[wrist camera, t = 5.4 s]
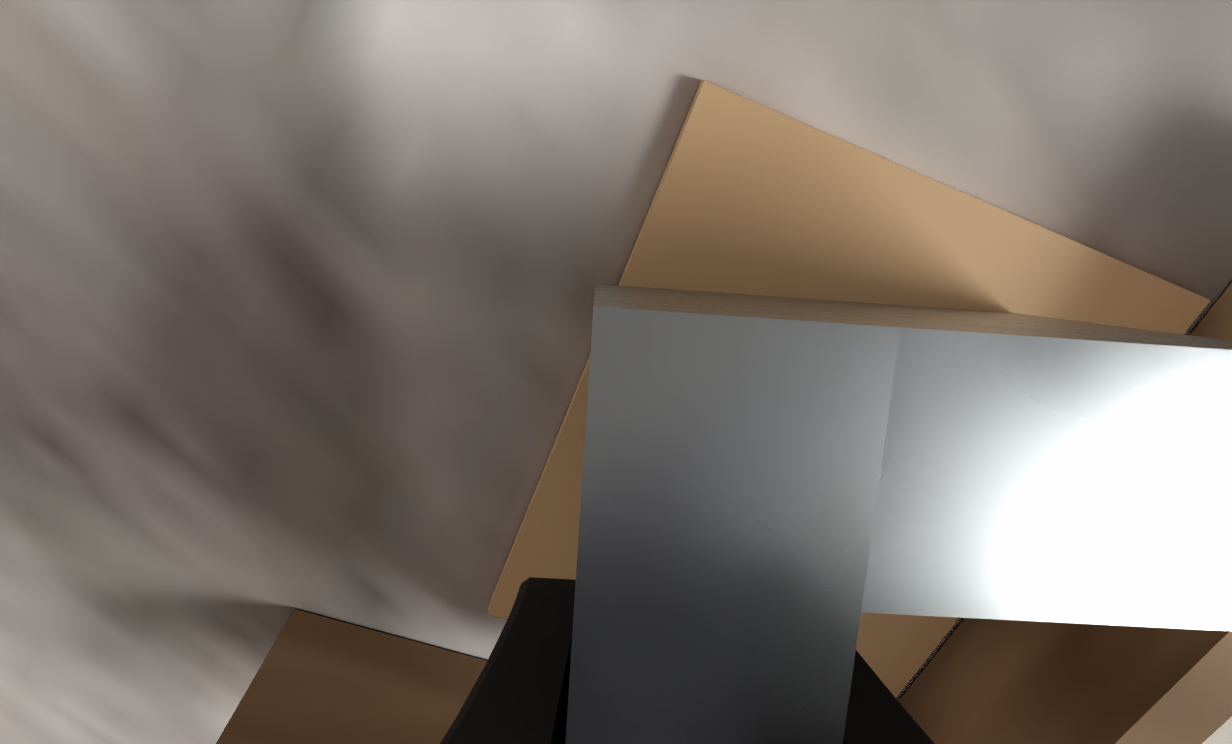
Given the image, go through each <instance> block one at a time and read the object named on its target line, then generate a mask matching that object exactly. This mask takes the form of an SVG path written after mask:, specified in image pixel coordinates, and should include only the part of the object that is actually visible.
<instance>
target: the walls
mask: <svg viewBox="0 0 1232 744" xmlns="http://www.w3.org/2000/svg"><path fill="white" fill-rule="evenodd" d="M1190 335H1192V336H1200V337H1208V338H1216V339H1223V340H1231V341H1232V283H1231V284H1230V285H1229V287H1228V288H1227V289H1226V290H1225V292H1224V293H1223V294H1222V295H1221V297H1220V298H1219V299H1218V300H1217V302H1216V303H1215V304H1214V305H1213V307H1212V308H1211V309H1210V311H1209V312H1208V313H1207V314H1206V316H1205V317H1204V318H1203V319H1202V321H1201V322H1200V323H1199V324H1198V326H1197V327H1196V328H1195V329H1194V331H1193V332H1192V333H1191V334H1190ZM486 663H487V661H485V660H482V659H478V658H474V657H471V656H467V655H463V654H459V653H456V652H452V651H448V650H444V649H441V648H437V647H433V646H430V645H426V644H422V643H418V642H415V641H411V640H407V639H404V638H400V637H396V636H392V635H389V634H385V633H381V632H378V631H374V630H370V629H366V628H363V627H359V626H355V625H352V624H348V623H344V622H340V621H337V620H333V619H329V618H326V617H322V616H318V615H314V614H311V613H307V612H303V611H300V610H296V609H294V610H293V612H292V614H291V615H290V617H289V619H288V620H287V622H286V624H285V626H284V627H283V629H282V631H281V632H280V634H279V636H278V638H277V639H276V641H275V643H274V645H273V646H272V648H271V650H270V651H269V653H268V655H267V657H266V658H265V660H264V662H263V664H262V665H261V667H260V669H259V670H258V672H257V674H256V676H255V677H254V679H253V681H252V682H251V684H250V686H249V688H248V689H247V691H246V693H245V695H244V696H243V698H242V700H241V701H240V703H239V705H238V707H237V708H236V710H235V712H234V713H233V715H232V717H231V719H230V720H229V722H228V724H227V726H226V727H225V729H224V731H223V732H222V734H221V736H220V738H219V739H218V741H217V743H216V744H440V743H441V741H442V740H443V738H444V736H445V735H446V733H447V732H448V730H449V728H450V727H451V725H452V723H453V722H454V720H455V718H456V717H457V715H458V713H459V711H460V710H461V708H462V706H463V704H464V702H465V701H466V699H467V697H468V695H469V693H470V692H471V690H472V688H473V686H474V684H475V683H476V681H477V679H478V677H479V676H480V674H481V672H482V670H483V668H484V667H485V665H486ZM899 702H900V704H901V705H902V706H903V707H904V708H905V709H906V711H907V712H908V713H909V714H910V715H911V716H912V718H913V719H914V720H915V721H916V722H917V723H918V725H919V726H920V727H921V728H922V729H923V730H924V732H925V733H926V734H927V735H928V736H929V737H930V739H931V740H932V741H933V742H934V743H935V744H1202V743H1203V742H1204V741H1205V740H1206V739H1207V738H1208V737H1209V736H1211V735H1212V734H1213V733H1214V732H1215V731H1216V730H1217V729H1218V728H1219V727H1220V726H1222V725H1223V724H1224V723H1225V722H1226V721H1227V720H1228V719H1229V718H1230V717H1231V716H1232V631H1213V630H1194V629H1174V628H1154V627H1135V626H1115V625H1096V624H1076V623H1056V622H1037V621H1017V620H997V619H978V618H964V620H963V621H962V622H961V623H960V625H959V626H958V627H957V628H956V630H955V631H954V632H953V633H952V635H951V636H950V637H949V638H948V640H947V641H946V642H945V643H944V645H943V646H942V647H941V648H940V650H939V651H938V652H937V653H936V655H935V656H934V657H933V658H932V660H931V661H930V662H929V664H928V665H927V666H926V667H925V669H924V670H923V671H922V672H921V674H920V675H919V676H918V677H917V679H916V680H915V681H914V682H913V684H912V685H911V686H910V687H909V689H908V690H907V691H906V692H905V694H904V695H903V696H902V697H901V699H900V700H899Z"/></svg>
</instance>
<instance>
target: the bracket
mask: <svg viewBox="0 0 1232 744" xmlns="http://www.w3.org/2000/svg"><path fill="white" fill-rule="evenodd" d="M861 613H880V614H899V615H919V616H939V617H958V618H978V619H997V620H1017V621H1037V622H1056V623H1076V624H1096V625H1115V626H1135V627H1154V628H1174V629H1194V630H1213V631H1232V341H1231V340H1223V339H1216V338H1208V337H1200V336H1192V335H1184V334H1176V333H1168V332H1160V331H1152V330H1144V329H1136V328H1129V327H1121V326H1113V325H1105V324H1097V323H1089V322H1081V321H1073V320H1065V319H1057V318H1049V317H1042V316H1034V315H1026V314H1018V313H1009V312H995V311H980V310H966V309H951V308H937V307H922V306H908V305H893V304H879V303H864V302H850V301H835V300H821V299H806V298H792V297H777V296H763V295H748V294H734V293H719V292H705V291H690V290H676V289H662V288H647V287H633V286H618V285H604V284H595V292H594V303H593V317H592V333H591V349H590V364H589V380H588V396H587V411H586V427H585V443H584V458H583V474H582V490H581V505H580V521H579V537H578V552H577V568H576V584H575V599H574V615H573V631H572V646H571V662H570V678H569V693H568V709H567V725H566V740H565V744H843V739H844V732H845V725H846V717H847V710H848V703H849V696H850V688H851V681H852V674H853V667H854V660H855V652H856V645H857V638H858V631H859V624H860V616H861Z"/></svg>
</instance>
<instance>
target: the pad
mask: <svg viewBox="0 0 1232 744" xmlns="http://www.w3.org/2000/svg"><path fill="white" fill-rule="evenodd" d="M618 286H633V287H647V288H662V289H676V290H690V291H705V292H719V293H734V294H748V295H763V296H777V297H792V298H806V299H821V300H835V301H850V302H864V303H879V304H893V305H908V306H922V307H937V308H951V309H966V310H980V311H995V312H1009V313H1018V314H1026V315H1034V316H1042V317H1049V318H1057V319H1065V320H1073V321H1081V322H1089V323H1097V324H1105V325H1113V326H1121V327H1129V328H1136V329H1144V330H1152V331H1160V332H1168V333H1176V334H1185V332H1186V331H1187V330H1188V329H1189V327H1190V326H1191V325H1192V324H1193V322H1194V321H1195V320H1196V319H1197V317H1198V316H1199V315H1200V313H1201V312H1202V311H1203V310H1204V308H1205V307H1206V306H1207V305H1208V303H1209V302H1210V301H1211V300H1209V299H1207V298H1205V297H1202V296H1200V295H1198V294H1195V293H1193V292H1191V291H1188V290H1186V289H1184V288H1182V287H1179V286H1177V285H1175V284H1172V283H1170V282H1168V281H1165V280H1163V279H1161V278H1159V277H1156V276H1154V275H1152V274H1149V273H1147V272H1145V271H1142V270H1140V269H1138V268H1136V267H1133V266H1131V265H1129V264H1126V263H1124V262H1122V261H1119V260H1117V259H1115V258H1113V257H1110V256H1108V255H1106V254H1103V253H1101V252H1099V251H1096V250H1094V249H1092V248H1089V247H1087V246H1085V245H1083V244H1080V243H1078V242H1076V241H1073V240H1071V239H1069V238H1066V237H1064V236H1062V235H1060V234H1057V233H1055V232H1053V231H1050V230H1048V229H1046V228H1043V227H1041V226H1039V225H1037V224H1034V223H1032V222H1030V221H1027V220H1025V219H1023V218H1020V217H1018V216H1016V215H1014V214H1011V213H1009V212H1007V211H1004V210H1002V209H1000V208H997V207H995V206H993V205H991V204H988V203H986V202H984V201H981V200H979V199H977V198H974V197H972V196H970V195H967V194H965V193H963V192H961V191H958V190H956V189H954V188H951V187H949V186H947V185H944V184H942V183H940V182H938V181H935V180H933V179H931V178H928V177H926V176H924V175H921V174H919V173H917V172H915V171H912V170H910V169H908V168H905V167H903V166H901V165H898V164H896V163H894V162H892V161H889V160H887V159H885V158H882V157H880V156H878V155H875V154H873V153H871V152H869V151H866V150H864V149H862V148H859V147H857V146H855V145H852V144H850V143H848V142H845V141H843V140H841V139H839V138H836V137H834V136H832V135H829V134H827V133H825V132H822V131H820V130H818V129H816V128H813V127H811V126H809V125H806V124H804V123H802V122H799V121H797V120H795V119H793V118H790V117H788V116H786V115H783V114H781V113H779V112H776V111H774V110H772V109H770V108H767V107H765V106H763V105H760V104H758V103H756V102H753V101H751V100H749V99H747V98H744V97H742V96H740V95H737V94H735V93H733V92H730V91H728V90H726V89H723V88H721V87H719V86H717V85H714V84H712V83H710V82H707V81H705V80H701V83H700V85H699V88H698V90H697V92H696V95H695V97H694V100H693V102H692V105H691V107H690V110H689V112H688V115H687V117H686V120H685V122H684V124H683V127H682V129H681V132H680V134H679V137H678V139H677V142H676V144H675V147H674V149H673V152H672V154H671V157H670V159H669V161H668V164H667V166H666V169H665V171H664V174H663V176H662V179H661V181H660V184H659V186H658V189H657V191H656V194H655V196H654V198H653V201H652V203H651V206H650V208H649V211H648V213H647V216H646V218H645V221H644V223H643V226H642V228H641V230H640V233H639V235H638V238H637V240H636V243H635V245H634V248H633V250H632V253H631V255H630V258H629V260H628V263H627V265H626V267H625V270H624V272H623V275H622V277H621V280H620V282H619V285H618ZM589 364H590V356H589V359H588V361H587V364H586V366H585V369H584V371H583V373H582V376H581V378H580V381H579V383H578V386H577V388H576V391H575V393H574V396H573V398H572V401H571V403H570V405H569V408H568V410H567V413H566V415H565V418H564V420H563V423H562V425H561V428H560V430H559V433H558V435H557V438H556V440H555V442H554V445H553V447H552V450H551V452H550V455H549V457H548V460H547V462H546V465H545V467H544V470H543V472H542V475H541V477H540V479H539V482H538V484H537V487H536V489H535V492H534V494H533V497H532V499H531V502H530V504H529V507H528V509H527V511H526V514H525V516H524V519H523V521H522V524H521V526H520V529H519V531H518V534H517V536H516V539H515V541H514V544H513V546H512V548H511V551H510V553H509V556H508V558H507V561H506V563H505V566H504V568H503V571H502V573H501V576H500V578H499V581H498V583H497V585H496V588H495V590H494V593H493V595H492V598H491V600H490V603H489V607H488V611H487V615H491V616H494V617H498V618H502V619H505V620H507V619H508V617H509V615H510V612H511V610H512V607H513V605H514V602H515V600H516V597H517V594H518V591H519V588H520V585H521V583H522V582H524V581H525V580H527V579H528V578H529V577H537V578H556V579H575V580H576V568H577V552H578V537H579V521H580V505H581V490H582V474H583V458H584V443H585V427H586V411H587V396H588V380H589ZM958 619H959V618H958V617H939V616H919V615H899V614H880V613H861V616H860V624H859V631H858V638H857V645H856V650H857V651H858V652H859V654H860V655H861V656H862V657H863V659H864V660H865V661H866V662H867V663H868V665H869V666H870V667H871V668H872V670H873V671H874V672H875V673H876V675H877V676H878V677H879V678H880V679H881V681H882V682H883V683H884V684H885V686H886V687H887V688H888V689H889V690H890V692H891V693H892V694H893V695H894V696H895V698H896V697H897V696H898V695H899V694H900V692H901V691H902V690H903V689H904V687H905V686H906V685H907V684H908V682H909V681H910V680H911V679H912V677H913V676H914V675H915V673H916V672H917V671H918V670H919V668H920V667H921V666H922V665H923V663H924V662H925V661H926V660H927V658H928V657H929V656H930V655H931V653H932V652H933V651H934V649H935V648H936V647H937V646H938V644H939V643H940V642H941V641H942V639H943V638H944V637H945V636H946V634H947V633H948V632H949V631H950V629H951V628H952V627H953V625H954V624H955V623H956V622H957V620H958Z"/></svg>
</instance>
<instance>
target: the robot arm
mask: <svg viewBox="0 0 1232 744" xmlns="http://www.w3.org/2000/svg"><path fill="white" fill-rule="evenodd" d="M575 584H576V580H575V579H556V578H537V577H529V578H528V579H527V580H525V581H524V582H522V583H521V585H520V588H519V591H518V594H517V597H516V600H515V602H514V605H513V607H512V610H511V612H510V615H509V617H508V619H507V622H506V624H505V626H504V628H503V630H502V633H501V635H500V637H499V639H498V641H497V643H496V645H495V647H494V649H493V651H492V653H491V655H490V657H489V659H488V661H487V663H486V665H485V667H484V668H483V670H482V672H481V674H480V676H479V677H478V679H477V681H476V683H475V684H474V686H473V688H472V690H471V692H470V693H469V695H468V697H467V699H466V701H465V702H464V704H463V706H462V708H461V710H460V711H459V713H458V715H457V717H456V718H455V720H454V722H453V723H452V725H451V727H450V728H449V730H448V732H447V733H446V735H445V736H444V738H443V740H442V741H441V743H440V744H565V740H566V725H567V709H568V693H569V678H570V662H571V646H572V631H573V615H574V599H575ZM843 744H935V743H934V742H933V741H932V740H931V739H930V737H929V736H928V735H927V734H926V733H925V732H924V730H923V729H922V728H921V727H920V726H919V725H918V723H917V722H916V721H915V720H914V719H913V718H912V716H911V715H910V714H909V713H908V712H907V711H906V709H905V708H904V707H903V706H902V705H901V704H900V702H899V701H898V700H897V699H896V698H895V696H894V695H893V694H892V693H891V692H890V690H889V689H888V688H887V687H886V686H885V684H884V683H883V682H882V681H881V679H880V678H879V677H878V676H877V675H876V673H875V672H874V671H873V670H872V668H871V667H870V666H869V665H868V663H867V662H866V661H865V660H864V659H863V657H862V656H861V655H860V654H859V652H858V651H857V650H856V652H855V660H854V667H853V674H852V681H851V688H850V696H849V703H848V710H847V717H846V725H845V732H844V739H843Z"/></svg>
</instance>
